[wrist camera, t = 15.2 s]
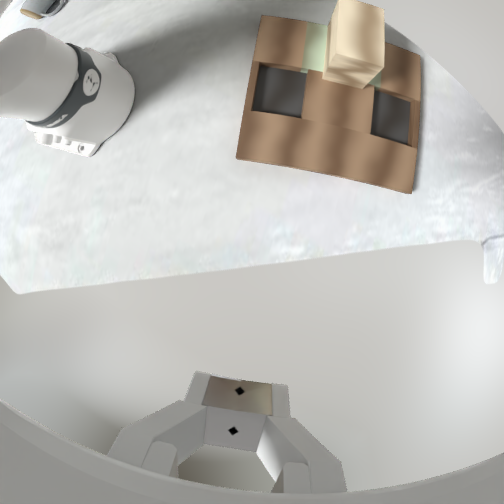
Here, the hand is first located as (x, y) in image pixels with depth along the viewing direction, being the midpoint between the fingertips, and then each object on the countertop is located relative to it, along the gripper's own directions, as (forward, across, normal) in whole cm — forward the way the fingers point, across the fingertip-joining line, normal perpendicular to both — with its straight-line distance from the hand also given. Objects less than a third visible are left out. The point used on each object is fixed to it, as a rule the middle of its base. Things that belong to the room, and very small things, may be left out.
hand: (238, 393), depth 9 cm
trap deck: (+34, -8, -22) cm, 41 cm away
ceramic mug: (+34, +55, -46) cm, 79 cm away
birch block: (+32, -8, -29) cm, 44 cm away
